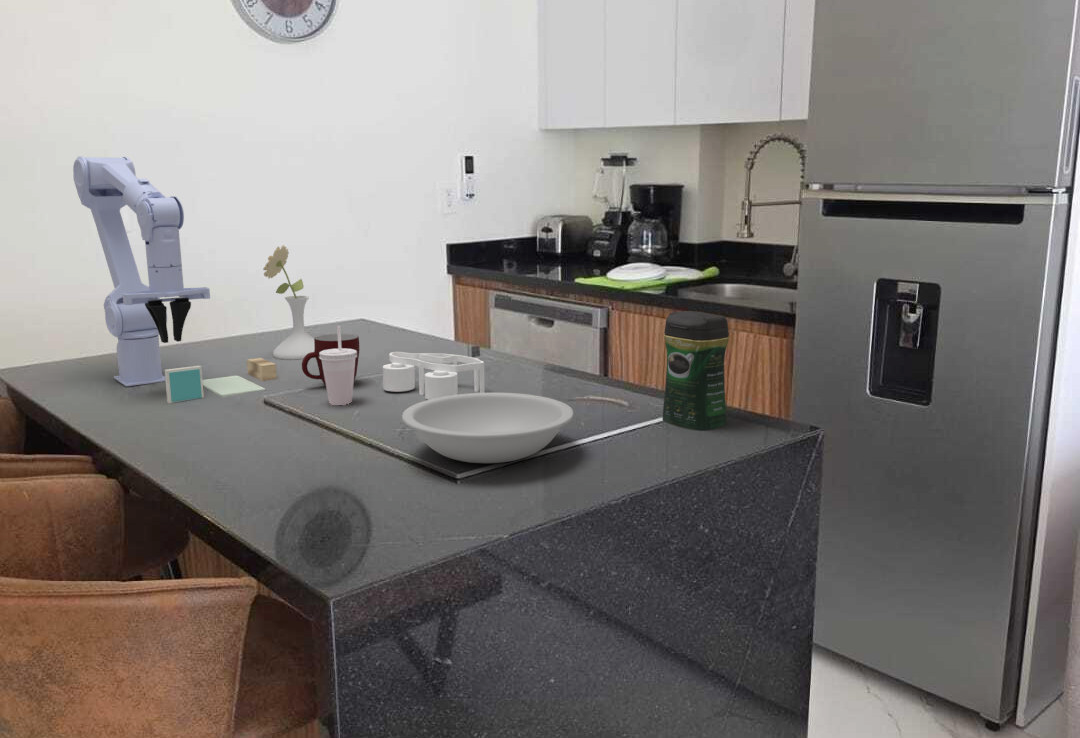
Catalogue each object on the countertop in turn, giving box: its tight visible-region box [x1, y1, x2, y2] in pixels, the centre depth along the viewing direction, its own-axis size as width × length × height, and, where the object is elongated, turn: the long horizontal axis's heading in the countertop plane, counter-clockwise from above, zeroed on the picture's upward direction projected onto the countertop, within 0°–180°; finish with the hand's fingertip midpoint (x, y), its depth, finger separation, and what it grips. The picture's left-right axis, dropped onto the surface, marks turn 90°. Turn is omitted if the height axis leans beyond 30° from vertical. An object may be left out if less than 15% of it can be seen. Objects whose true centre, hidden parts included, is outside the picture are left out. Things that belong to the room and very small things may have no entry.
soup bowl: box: [401, 392, 575, 464], centre depth 132 cm, size 24×24×7 cm
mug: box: [301, 333, 360, 387], centre depth 173 cm, size 11×8×10 cm
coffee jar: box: [662, 310, 730, 432], centre depth 144 cm, size 10×8×19 cm
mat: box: [202, 374, 266, 398], centre depth 176 cm, size 15×8×1 cm, turn 37°
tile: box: [164, 365, 205, 405], centre depth 166 cm, size 1×6×6 cm, turn 127°
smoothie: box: [319, 325, 357, 406], centre depth 160 cm, size 6×6×14 cm
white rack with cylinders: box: [382, 351, 486, 400], centre depth 167 cm, size 20×11×7 cm, turn 49°
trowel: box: [246, 357, 278, 382], centre depth 180 cm, size 15×5×4 cm, turn 37°
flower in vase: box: [263, 244, 315, 361], centre depth 199 cm, size 13×11×25 cm
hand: (171, 341), depth 169 cm, fingers closed
